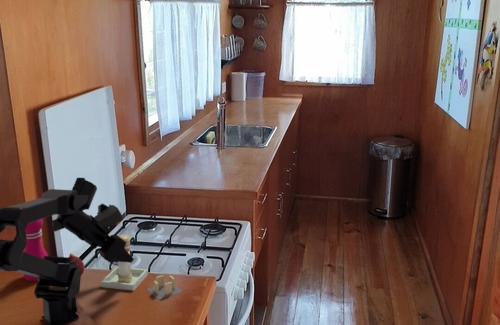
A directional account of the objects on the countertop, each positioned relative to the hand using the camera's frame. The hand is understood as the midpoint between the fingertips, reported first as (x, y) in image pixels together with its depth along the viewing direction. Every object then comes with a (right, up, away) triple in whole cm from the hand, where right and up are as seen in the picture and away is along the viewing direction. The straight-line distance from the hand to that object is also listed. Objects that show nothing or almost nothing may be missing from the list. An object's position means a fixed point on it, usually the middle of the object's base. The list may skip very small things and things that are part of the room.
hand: (125, 254), depth 131 cm
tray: (0, -9, +2) cm, 9 cm away
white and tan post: (0, -7, +2) cm, 8 cm away
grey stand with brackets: (+11, -10, -3) cm, 15 cm away
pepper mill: (-27, -8, +7) cm, 29 cm away
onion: (-15, -8, +5) cm, 18 cm away
